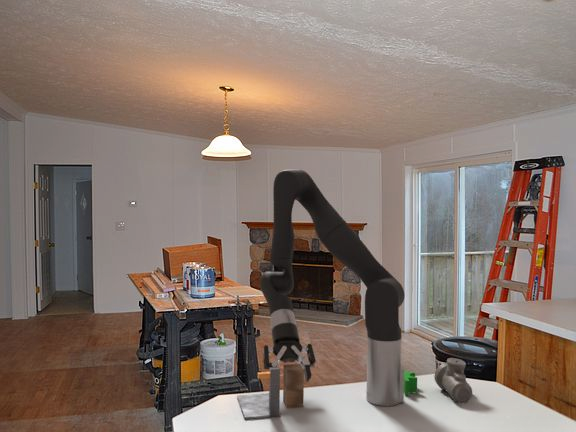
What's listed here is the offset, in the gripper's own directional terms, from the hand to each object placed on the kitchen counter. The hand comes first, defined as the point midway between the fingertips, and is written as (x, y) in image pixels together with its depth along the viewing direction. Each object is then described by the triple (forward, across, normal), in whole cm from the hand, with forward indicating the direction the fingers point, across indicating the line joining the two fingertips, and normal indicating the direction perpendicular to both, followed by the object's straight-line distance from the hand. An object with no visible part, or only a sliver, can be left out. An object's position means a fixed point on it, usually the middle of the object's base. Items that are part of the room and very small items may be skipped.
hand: (292, 381), depth 134 cm
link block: (+5, 0, +4) cm, 6 cm away
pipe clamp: (+2, +36, +7) cm, 37 cm away
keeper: (+5, -9, +4) cm, 11 cm away
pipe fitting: (+7, +46, +2) cm, 47 cm away
